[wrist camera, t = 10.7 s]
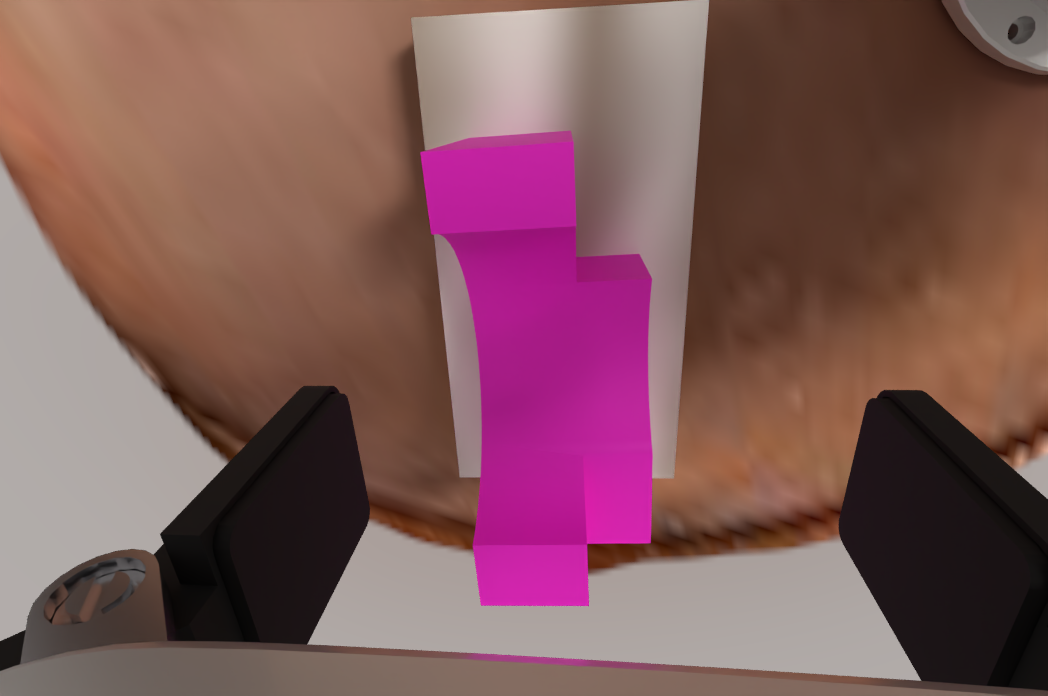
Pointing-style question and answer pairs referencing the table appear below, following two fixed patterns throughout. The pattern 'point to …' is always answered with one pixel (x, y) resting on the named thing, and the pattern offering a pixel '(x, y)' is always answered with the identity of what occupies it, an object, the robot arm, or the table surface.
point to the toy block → (546, 367)
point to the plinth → (580, 159)
